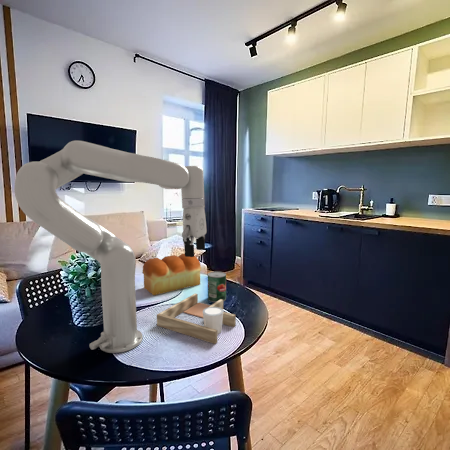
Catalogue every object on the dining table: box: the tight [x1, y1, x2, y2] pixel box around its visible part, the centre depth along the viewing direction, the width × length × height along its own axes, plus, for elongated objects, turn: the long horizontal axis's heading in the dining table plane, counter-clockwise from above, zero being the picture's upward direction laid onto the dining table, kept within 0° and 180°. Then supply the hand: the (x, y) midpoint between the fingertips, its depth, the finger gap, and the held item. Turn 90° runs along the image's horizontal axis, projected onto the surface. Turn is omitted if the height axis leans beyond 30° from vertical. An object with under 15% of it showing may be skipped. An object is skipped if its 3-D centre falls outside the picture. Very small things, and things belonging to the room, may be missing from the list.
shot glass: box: [202, 307, 224, 335], centre depth 94 cm, size 7×7×7 cm
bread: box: [142, 253, 202, 296], centre depth 137 cm, size 25×12×15 cm, turn 126°
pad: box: [183, 302, 212, 319], centre depth 110 cm, size 10×10×1 cm
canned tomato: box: [207, 271, 227, 303], centre depth 121 cm, size 8×8×11 cm
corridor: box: [156, 293, 237, 345], centre depth 102 cm, size 23×24×4 cm
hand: (195, 252), depth 98 cm, fingers open, 9 cm apart
